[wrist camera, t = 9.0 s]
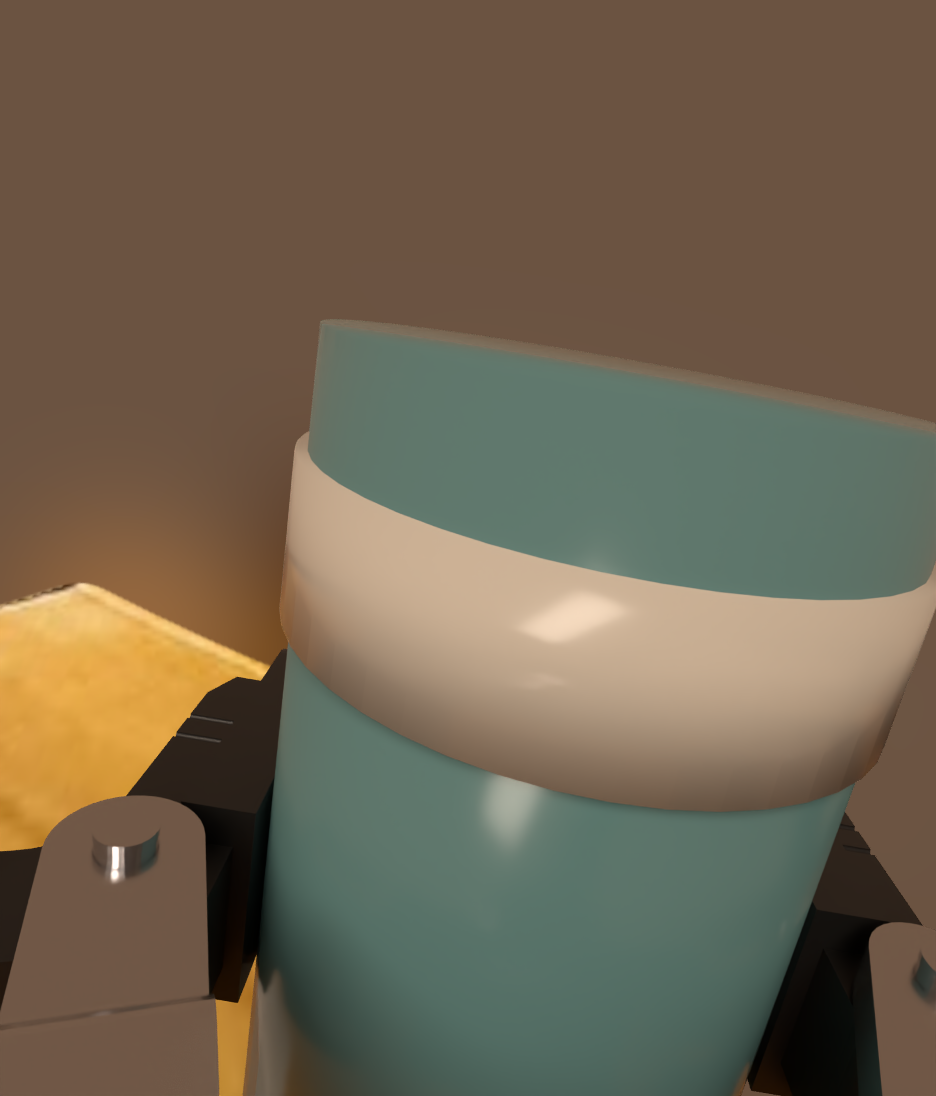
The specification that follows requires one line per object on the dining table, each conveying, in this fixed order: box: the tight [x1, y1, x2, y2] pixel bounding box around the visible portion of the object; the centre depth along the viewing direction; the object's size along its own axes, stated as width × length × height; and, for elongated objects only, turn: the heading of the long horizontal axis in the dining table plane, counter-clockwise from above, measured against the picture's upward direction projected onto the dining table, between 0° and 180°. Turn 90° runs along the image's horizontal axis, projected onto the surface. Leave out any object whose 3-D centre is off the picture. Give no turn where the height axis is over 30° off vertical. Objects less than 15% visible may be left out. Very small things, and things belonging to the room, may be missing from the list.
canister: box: [243, 319, 936, 1096], centre depth 8 cm, size 5×5×12 cm
